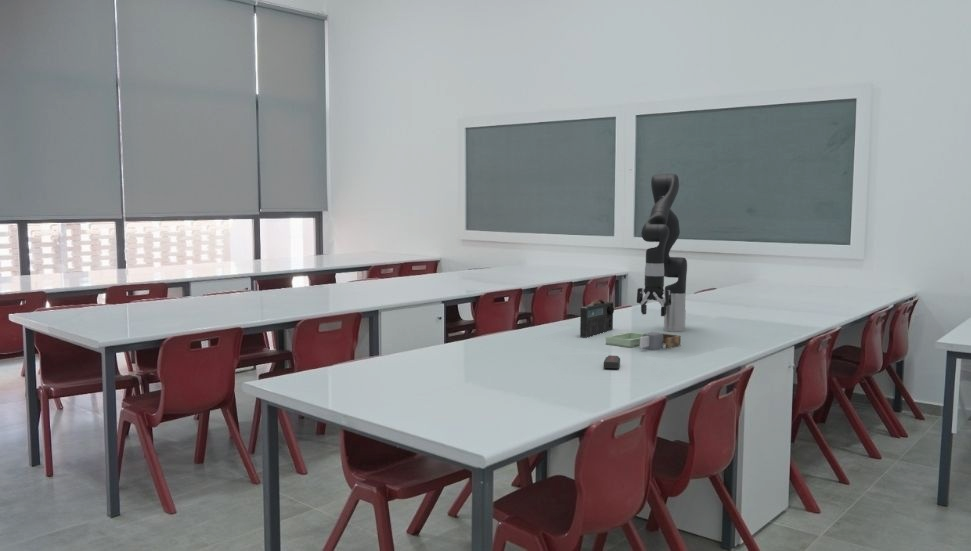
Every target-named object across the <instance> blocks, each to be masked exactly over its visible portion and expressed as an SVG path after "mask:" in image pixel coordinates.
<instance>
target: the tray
mask: <svg viewBox="0 0 971 551" xmlns="http://www.w3.org/2000/svg"><path fill="white" fill-rule="evenodd" d="M643 334H644V333H637V332H629V331H628V332H625V333H620V334H614V335H610V336H605V345H608V346H616V347H622V348H629V349H630V348H635V347H640V337H643Z"/></svg>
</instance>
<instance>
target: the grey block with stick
mask: <svg viewBox="0 0 971 551" xmlns="http://www.w3.org/2000/svg"><path fill="white" fill-rule="evenodd" d="M642 334H643V337H640V346H639V348H641V349H643V350H647V349H648V350H649V351H657V350H661V349H660V348H662V349H663V348H664V344H663V334H664V333H662V332H661V333H660V332H654V331H651V332H646V333H642Z"/></svg>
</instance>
